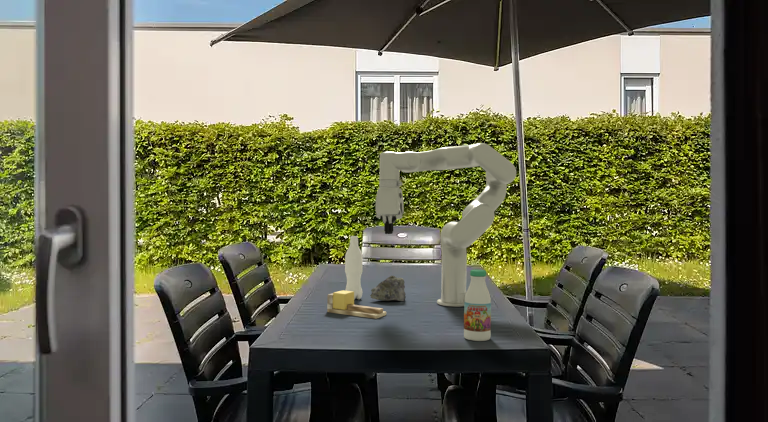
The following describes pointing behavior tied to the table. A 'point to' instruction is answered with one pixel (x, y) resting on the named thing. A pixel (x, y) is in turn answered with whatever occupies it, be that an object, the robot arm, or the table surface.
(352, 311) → the rail
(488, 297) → the milk bottle
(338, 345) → the table surface
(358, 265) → the white bottle
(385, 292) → the mineral rock
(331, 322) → the table surface
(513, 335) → the table surface
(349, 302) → the block
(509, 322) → the table surface
